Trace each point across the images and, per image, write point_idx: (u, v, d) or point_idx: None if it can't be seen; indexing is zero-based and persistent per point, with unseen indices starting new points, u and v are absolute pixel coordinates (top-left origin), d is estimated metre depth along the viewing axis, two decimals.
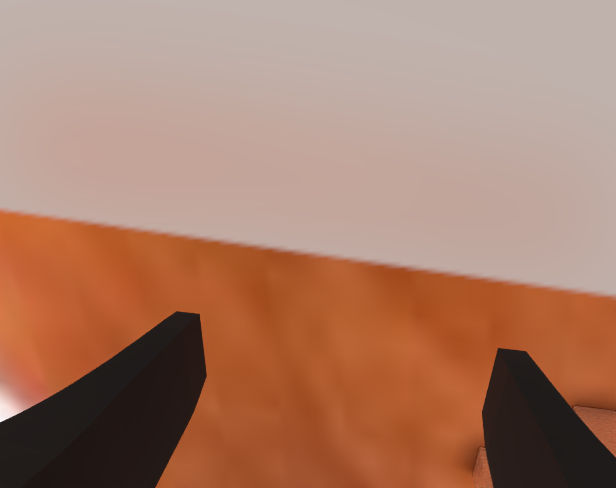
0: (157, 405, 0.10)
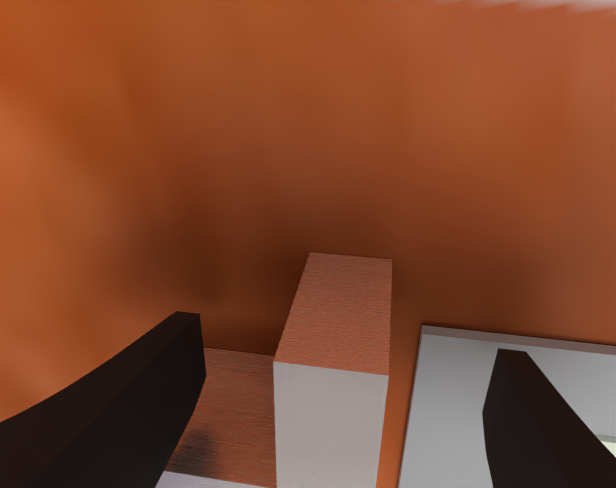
0: (157, 405, 0.10)
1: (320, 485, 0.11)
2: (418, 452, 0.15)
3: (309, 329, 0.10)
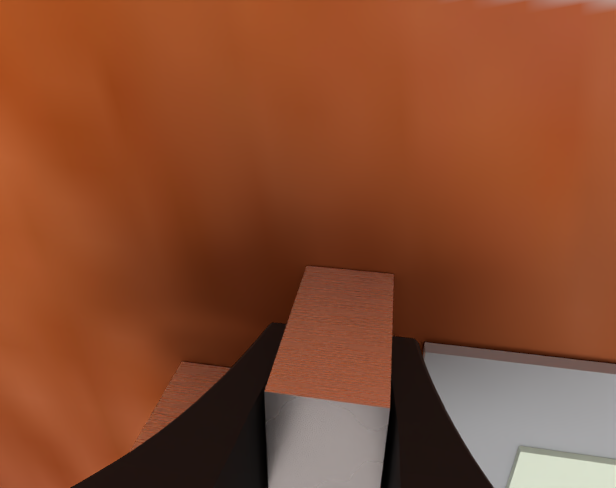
0: None
1: None
2: None
3: (304, 353, 0.10)
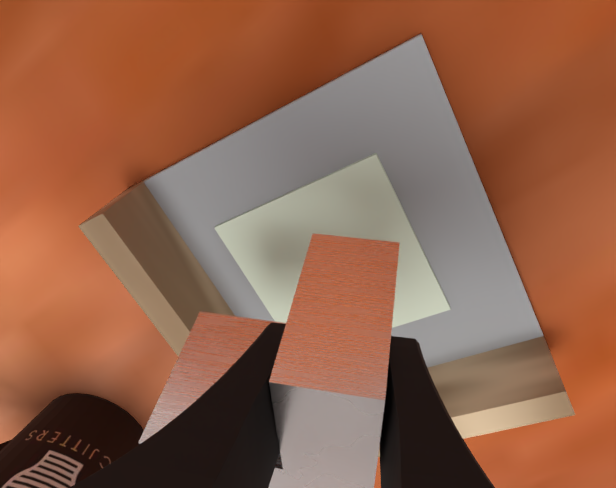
0: (268, 421, 0.10)
1: (322, 470, 0.11)
2: (301, 112, 0.17)
3: (307, 340, 0.10)
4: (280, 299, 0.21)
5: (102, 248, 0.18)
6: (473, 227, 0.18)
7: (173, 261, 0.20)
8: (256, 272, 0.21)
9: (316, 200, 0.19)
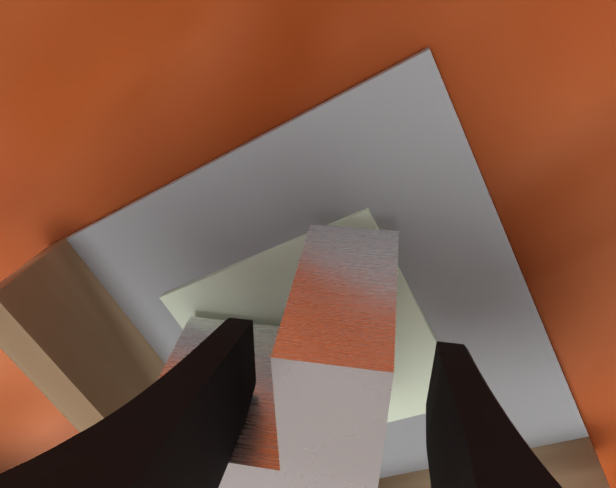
0: (218, 414, 0.10)
1: (323, 468, 0.11)
2: (265, 154, 0.13)
3: (309, 317, 0.10)
4: None
5: None
6: (499, 303, 0.14)
7: (105, 343, 0.15)
8: None
9: (289, 266, 0.14)
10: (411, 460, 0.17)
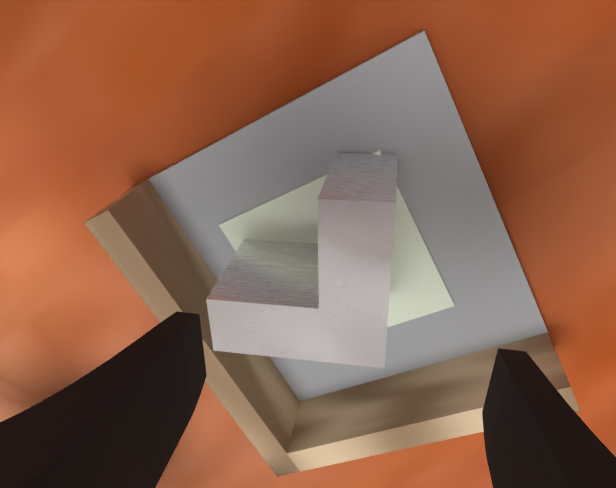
0: (157, 405, 0.10)
1: (350, 301, 0.15)
2: (305, 109, 0.17)
3: (340, 185, 0.15)
4: None
5: (108, 245, 0.18)
6: (477, 223, 0.18)
7: (178, 258, 0.20)
8: None
9: None
10: (411, 359, 0.22)
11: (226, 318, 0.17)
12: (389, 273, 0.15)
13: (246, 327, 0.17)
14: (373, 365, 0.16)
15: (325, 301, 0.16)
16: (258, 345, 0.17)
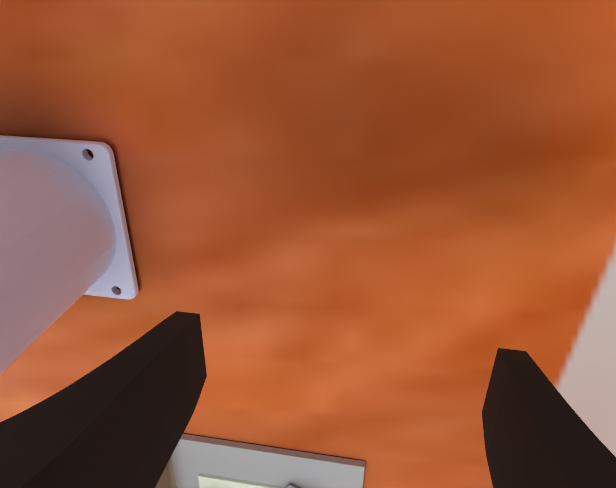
0: (156, 405, 0.10)
1: None
2: (284, 460, 0.28)
3: None
4: None
5: None
6: None
7: None
8: None
9: None
10: None
11: None
12: None
13: None
14: None
15: None
16: None
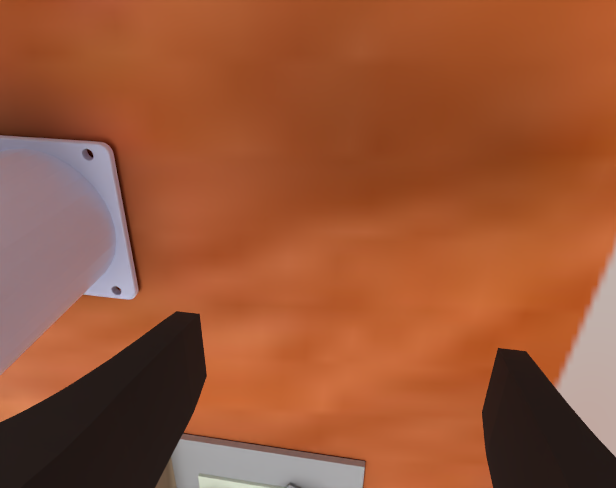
0: (156, 405, 0.10)
1: None
2: (284, 460, 0.28)
3: None
4: None
5: None
6: None
7: None
8: None
9: None
10: None
11: None
12: None
13: None
14: None
15: None
16: None
